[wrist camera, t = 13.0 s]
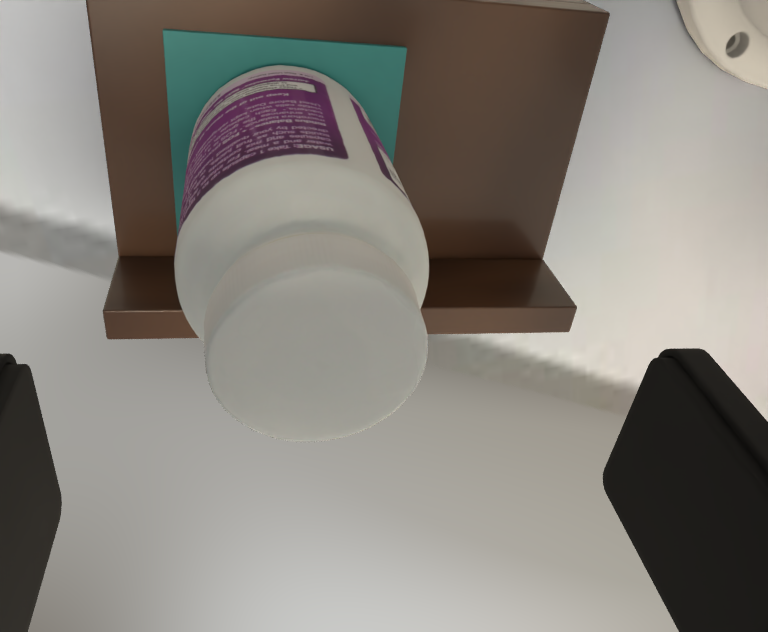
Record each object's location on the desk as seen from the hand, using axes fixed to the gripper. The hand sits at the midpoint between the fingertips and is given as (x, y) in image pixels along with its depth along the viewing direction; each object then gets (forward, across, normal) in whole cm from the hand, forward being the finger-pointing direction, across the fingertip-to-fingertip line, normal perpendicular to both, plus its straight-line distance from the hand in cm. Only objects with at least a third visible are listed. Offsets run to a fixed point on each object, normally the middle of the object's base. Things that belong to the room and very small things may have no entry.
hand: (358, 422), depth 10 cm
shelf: (+17, -1, 0) cm, 17 cm away
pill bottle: (+12, +1, 0) cm, 12 cm away
